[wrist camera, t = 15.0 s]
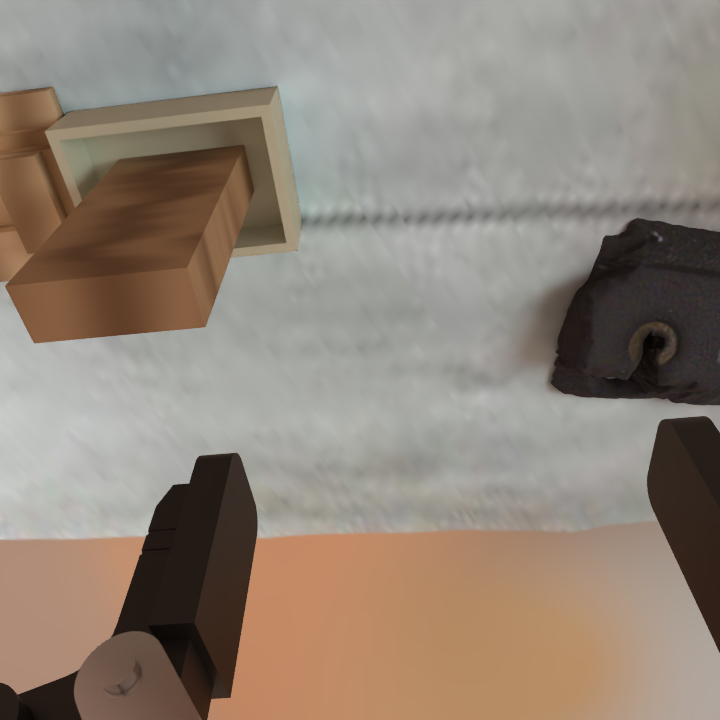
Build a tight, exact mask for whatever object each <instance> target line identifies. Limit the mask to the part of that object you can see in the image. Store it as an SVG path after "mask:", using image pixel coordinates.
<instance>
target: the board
mask: <svg viewBox="0 0 720 720" xmlns="http://www.w3.org/2000/svg"><path fill="white" fill-rule="evenodd" d="M253 193H254V187H253V183H252V178H251V173H250V169H249V164H248V160H247V155H246V151H245V146H244V145H237V146H229V147H220V148H211V149H202V150H194V151H185V152H176V153H167V154H159V155H150V156H141V157H132V158H124V159H119V160H118V161H117V162H116V163H115V165H114V166H113V167H112V168H111V169H110V170H109V171H108V172H107V173H106V175H105V176H104V177H103V178H102V179H101V180H100V181H99V182H98V183H97V185H96V186H95V187H94V188H93V189H92V190H91V191H90V192H89V193H88V195H87V196H86V197H85V198H84V199H83V200H82V201H81V202H80V203H79V205H78V206H77V207H76V208H75V209H74V210H73V211H72V212H71V213H70V215H69V216H68V217H67V218H66V219H65V220H64V221H63V222H62V223H61V225H60V226H59V227H58V228H57V229H56V230H55V231H54V232H53V233H52V235H51V236H50V237H49V238H48V239H47V240H46V241H45V242H44V243H43V245H42V246H41V247H40V248H39V249H38V250H37V251H36V252H35V253H34V255H33V256H32V257H31V258H30V259H29V260H28V261H27V262H26V263H25V265H24V266H23V267H22V268H21V269H20V270H19V271H18V272H17V273H16V275H15V276H14V277H13V278H12V279H11V280H10V281H9V282H8V283H7V285H6V286H5V287H6V289H7V291H8V293H9V295H10V297H11V299H12V301H13V303H14V305H15V307H16V309H17V311H18V313H19V315H20V317H21V319H22V321H23V323H24V325H25V326H26V328H27V330H28V332H29V334H30V336H31V338H32V340H33V342H34V343H42V342H53V341H64V340H74V339H85V338H95V337H106V336H117V335H127V334H138V333H148V332H159V331H169V330H180V329H191V328H201V327H206V324H207V321H208V318H209V316H210V313H211V310H212V307H213V305H214V302H215V299H216V296H217V293H218V291H219V288H220V285H221V282H222V279H223V277H224V274H225V271H226V268H227V266H228V263H229V260H230V257H231V254H232V252H233V249H234V246H235V243H236V241H237V238H238V235H239V232H240V229H241V227H242V224H243V221H244V218H245V215H246V213H247V210H248V207H249V204H250V202H251V199H252V196H253Z"/></svg>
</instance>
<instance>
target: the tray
mask: <svg viewBox="0 0 720 720" xmlns="http://www.w3.org/2000/svg"><path fill="white" fill-rule="evenodd" d="M45 134H46V136H47V139H48V141H49V144H50V146H51V149H52V151H53V154H54V156H55V159H56V161H57V164H58V166H59V169H60V171H61V174H62V176H63V179H64V181H65V184H66V186H67V189H68V191H69V194H70V196H71V199H72V201H73V204H74V206H75V208H76V207H77V206H78V205H79V203H80V202H81V201H82V200H83V199H84V198H85V197H86V196H87V195H88V193H89V192H90V191H91V190H92V189H93V188H94V187H95V186H96V185H97V183H98V182H99V181H100V180H101V179H102V178H103V177H104V176H105V175H106V173H107V172H108V171H109V170H110V169H111V168H112V167H113V166H114V165H115V163H116V162H117V161H118V160H119V159H124V158H132V157H141V156H150V155H159V154H167V153H176V152H185V151H194V150H202V149H211V148H220V147H229V146H237V145H244V146H245V151H246V155H247V160H248V164H249V169H250V173H251V178H252V183H253V187H254V193H253V196H252V199H251V202H250V204H249V207H248V210H247V213H246V215H245V218H244V221H243V224H242V227H241V229H240V232H239V235H238V238H237V241H236V243H235V246H234V249H233V252H232V254H231V257H230V258H232V257H242V256H251V255H261V254H271V253H280V252H290V251H298V245H299V240H300V234H301V229H302V220H301V214H300V209H299V203H298V197H297V192H296V186H295V181H294V175H293V170H292V164H291V159H290V153H289V148H288V142H287V136H286V131H285V125H284V120H283V114H282V109H281V103H280V98H279V92H278V87H277V86H276V87H268V88H259V89H251V90H243V91H235V92H226V93H218V94H210V95H202V96H193V97H185V98H177V99H169V100H160V101H152V102H144V103H136V104H128V105H119V106H111V107H103V108H95V109H86V110H78V111H70V112H69V113H68V114H66V115H65V116H64V117H62V118H61V119H60V120H59V121H57V122H56V123H55V124H53V125H52V126H51V127H49V128H48V129H47V130H45Z"/></svg>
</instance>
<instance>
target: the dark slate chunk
mask: <svg viewBox="0 0 720 720" xmlns="http://www.w3.org/2000/svg"><path fill="white" fill-rule="evenodd" d="M558 346H559V349H558V350H557V351H556V353H557V354H558V355H559V356H558V358H557V360H556V362H555V364H554V365H555V366H557V368H556V370H555V372H554V374H553V378H554V379H553V380H552V381H551V384H552V385H553V386H554V387H555V388H557V389H558V390H559V391H561V392H562V393H564V394H573V395H576V396H580V397H597V398H613V399H617V398H628V399H634V398H636V399H645V398H660V399H666V398H668V399H669V400H670V401H672V402H674V403H687V404H693V405H720V232H716V231H708V230H705V229H697V228H688V227H684V226H680V225H671V224H668V223H665V222H661V221H649V220H645V219H640V218H637V219H635V220H634V221H632V222H631V223H630V224H629V225H628V230H627V231H626V232H625V233H621V234H620V235H614V236H605V237H604V238H603V242H602V246H601V249H600V252H599V255H598V257H597V259H596V261H595V264H594V266H593V269H592V272H591V274H590V276H589V279H588V281H586V282H585V284H584V285H583V286H582V287H581V288H580V289H579V290H578V291H577V292H576V294H575V295H574V298H573V300H572V302H571V305H570V307H569V309H568V311H567V316H566V318H565V321H564V324H563V326H562V329H561V331H560V334H559V337H558ZM605 377H614V378H615V379H607V378H605Z"/></svg>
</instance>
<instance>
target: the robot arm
mask: <svg viewBox="0 0 720 720" xmlns="http://www.w3.org/2000/svg"><path fill="white" fill-rule="evenodd" d="M647 488H648V495H649V499H650V503H651V506H652V508H653V511H654V513H655V515H656V517H657V519H658V521H659V524H660V526H661V528H662V530H663V532H664V534H665V536H666V539H667V541H668V543H669V545H670V547H671V549H672V551H673V553H674V556H675V558H676V560H677V562H678V564H679V566H680V569H681V571H682V573H683V575H684V577H685V579H686V581H687V584H688V586H689V588H690V590H691V592H692V594H693V596H694V598H695V601H696V603H697V605H698V607H699V609H700V611H701V614H702V616H703V618H704V620H705V622H706V624H707V626H708V629H709V631H710V633H711V635H712V637H713V639H714V641H715V644H716V646H717V648H718V650H719V652H720V433H719V431H718V430H717V428H716V427H715V425H714V424H713V422H712V421H711V420H710V419H709V418H708V417H705V416H700V417H688V418H675V419H664V420H662V421H661V422H660V423H659V426H658V429H657V434H656V439H655V443H654V448H653V452H652V457H651V462H650V466H649V471H648V476H647ZM148 531H149V534H148V535H147V536H146V539H145V542H144V545H143V548H142V555H140V557H139V560H138V563H137V566H136V569H135V572H134V575H133V578H132V581H131V584H130V587H129V590H128V593H127V596H126V599H125V602H124V605H123V608H122V611H121V614H120V617H119V620H118V623H117V626H116V628H115V630H114V633H113V635H112V637H111V638H110V639H108V640H106V641H105V642H103V643H102V644H101V645H99V646H98V647H97V648H96V649H95V650H94V651H93V652H92V653H91V654H90V655H89V656H88V657H87V659H86V660H85V661H84V663H83V664H82V666H81V668H80V669H79V670H78V671H76V672H74V673H72V674H70V675H68V676H66V677H63V678H61V679H58V680H56V681H53V682H50V683H48V684H45V685H42V686H40V687H37V688H35V689H32V690H29V691H26V692H24V693H21V694H19V695H17V694H16V692H15V691H14V690H13V689H12V688H11V687H9V686H8V685H6V684H3V683H0V720H207V718H208V712H209V707H210V702H211V699H216V698H230V697H231V691H232V685H233V679H234V672H235V666H236V659H237V654H238V648H239V641H240V636H241V629H242V623H243V617H244V611H245V605H246V599H247V593H248V586H249V580H250V574H251V568H252V562H253V556H254V550H255V544H256V538H257V510H256V505H255V501H254V498H253V495H252V492H251V489H250V486H249V482H248V479H247V476H246V473H245V470H244V467H243V463H242V460H241V458H240V456H239V454H238V453H229V454H216V455H204V456H199V457H198V458H197V460H196V463H195V466H194V469H193V473H192V476H191V479H190V483H189V484H178V485H173V486H172V487H171V489H170V490H169V491H168V492H167V494H166V495H165V496H164V497H163V499H162V500H161V501H160V502H159V504H158V505H157V506H156V508H155V511H154V514H153V517H152V520H151V524H150V527H149V530H148Z"/></svg>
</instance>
